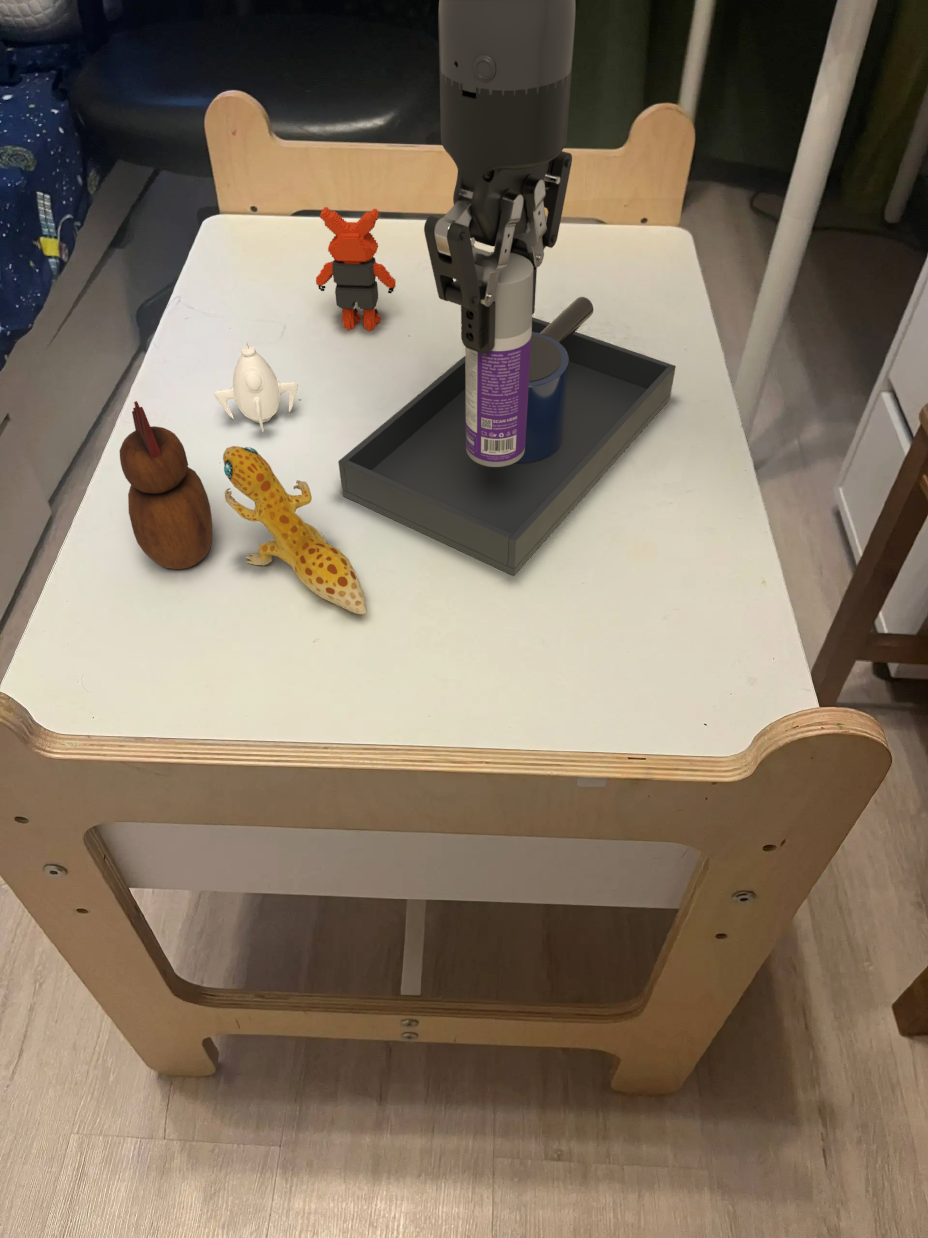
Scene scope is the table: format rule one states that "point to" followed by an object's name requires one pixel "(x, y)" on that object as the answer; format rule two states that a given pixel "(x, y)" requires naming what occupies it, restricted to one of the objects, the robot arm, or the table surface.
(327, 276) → the toy animal
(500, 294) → the container
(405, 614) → the table surface
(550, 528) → the tray
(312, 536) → the toy
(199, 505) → the wooden figurine
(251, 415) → the rocket toy
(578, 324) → the blue saucepan
